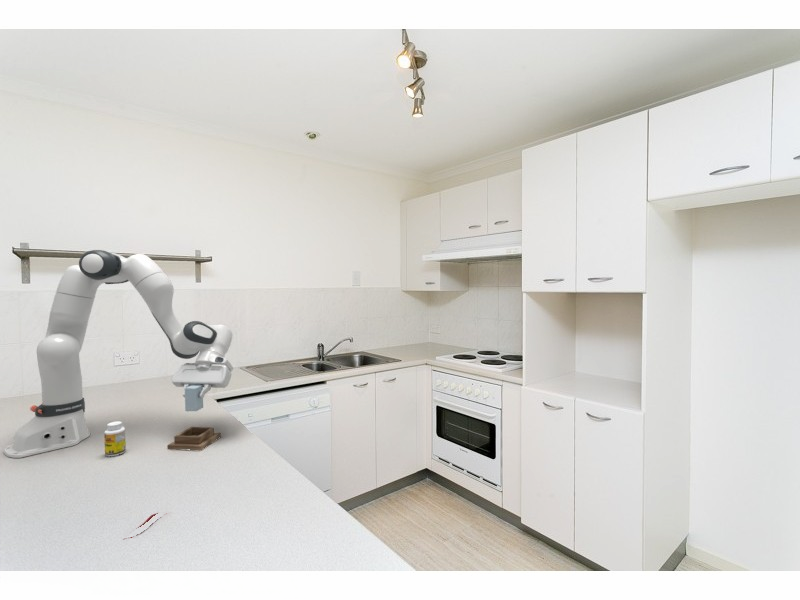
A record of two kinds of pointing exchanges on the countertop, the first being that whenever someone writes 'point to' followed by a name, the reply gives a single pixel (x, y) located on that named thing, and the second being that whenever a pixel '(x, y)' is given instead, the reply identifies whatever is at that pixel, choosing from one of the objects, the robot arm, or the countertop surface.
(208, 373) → the robot arm
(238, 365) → the countertop surface
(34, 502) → the countertop surface
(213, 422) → the countertop surface
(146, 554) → the countertop surface
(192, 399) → the block
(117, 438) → the supplement bottle
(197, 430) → the board
